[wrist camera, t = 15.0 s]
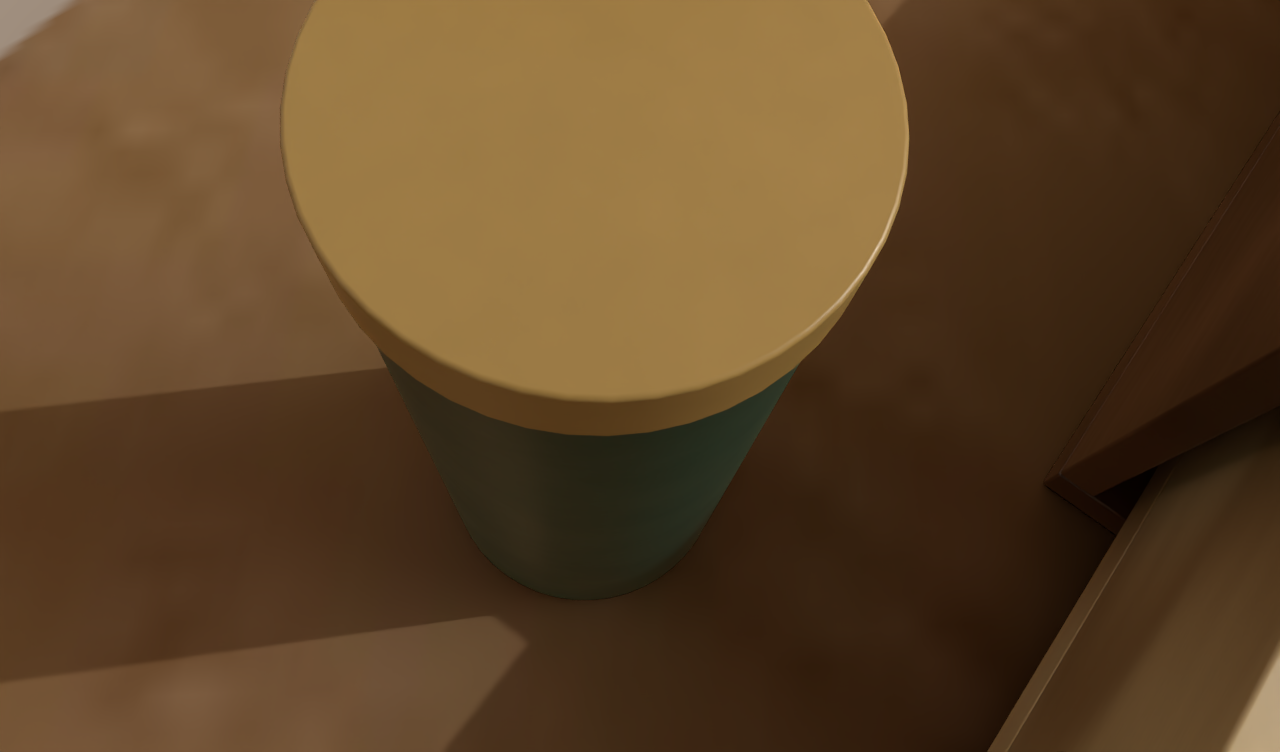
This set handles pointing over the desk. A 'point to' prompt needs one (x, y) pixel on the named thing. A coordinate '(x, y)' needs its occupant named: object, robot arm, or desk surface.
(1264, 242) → the brown wooden box
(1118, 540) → the drawer
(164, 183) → the desk surface
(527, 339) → the tin
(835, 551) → the desk surface
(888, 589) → the desk surface
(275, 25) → the desk surface
